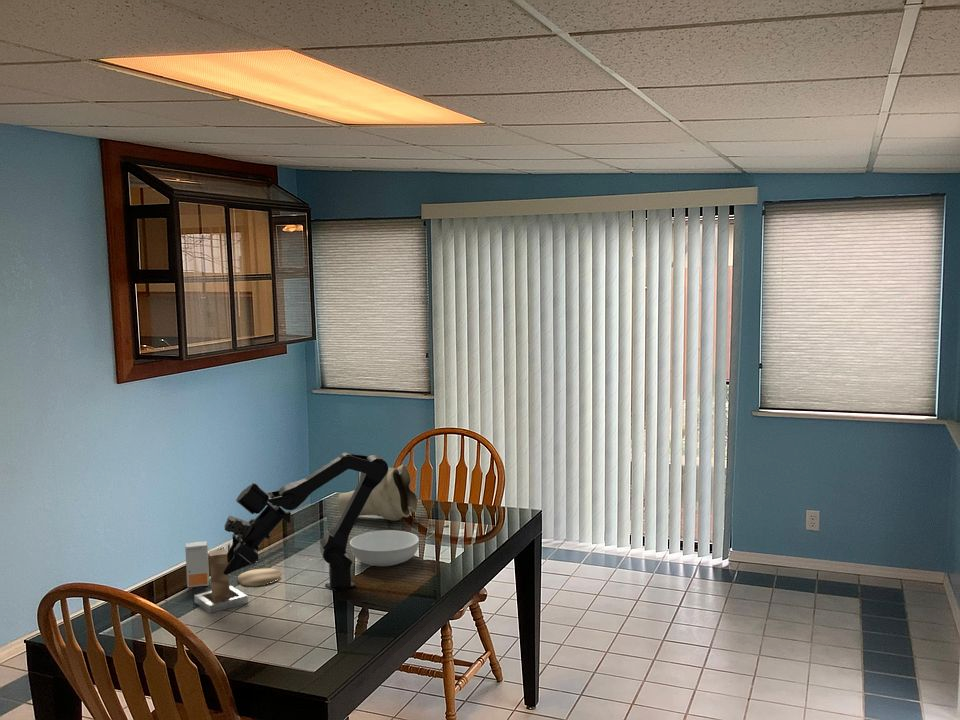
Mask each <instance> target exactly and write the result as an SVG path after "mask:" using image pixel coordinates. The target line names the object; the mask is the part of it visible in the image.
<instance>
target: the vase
mask: <svg viewBox="0 0 960 720" xmlns="http://www.w3.org/2000/svg"><path fill="white" fill-rule="evenodd" d="M411 483H412V477H411V475H410V471H409V470H408V468H407V467H406V464H401V465H399V466H398V467H394V468H393V467H388V472H387V474H386V476H385V477H384V478H383V480H382V481H381V482H380V483H379V484H378V485H377V486H376V487H375V488H374V489H373V490H372V492H371V494H370V496H369V498H368V499H367V501H366V503H365V505H364V507H363V509H362V511H361V513H360V515H359V516H360V517H361V516H377V517H381V518H384V519H385V520H387V521H388V520H389V521H399V520H401V519H402V518H403V517H404V518H408V517H410V515H411V513H416V512H417V510H418V496H417V493H416V492H415V491H414V490H413V489H412V488H411ZM354 491H355V489H354V490H352V491H348V492H347V491H346V492H342V493H340V494H338V496H337V497H338V499H337V504H338V505H337V506H338V510H339V512H340V514H341V515H342V514H343V512H344V510H345V508H346V506H347V504H348V503H349V501H350V499H351V497H352V495H353V493H354Z"/></svg>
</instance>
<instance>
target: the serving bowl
mask: <svg viewBox="0 0 960 720" xmlns="http://www.w3.org/2000/svg"><path fill="white" fill-rule="evenodd" d="M419 544H420V538H419V536H417V534H415V533H412V532H407V531H404V530H403V531H402V530H394V529H393V530H392V529H391V530H390V529H387V530H385V529H384V530H383V529H382V530H374V531H368V532H364V533H361V534H358V535H356V536H354V537H352V538H350V541H349V547H350V551H351V553H352V555H353V557H354V558H355V559H356V560H357V561H359V562H361V563H362V564H366V565H368V566H369V565H370V566H374V567H375V566H376V567H390V566H394V565H399V564H402V563H405V562H407V561H409V560H410V559H411V558H413V557H414V556H415V554H416V553H417V551H418V548H419Z"/></svg>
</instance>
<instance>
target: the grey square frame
mask: <svg viewBox="0 0 960 720" xmlns="http://www.w3.org/2000/svg"><path fill="white" fill-rule="evenodd" d="M229 593H230V598H229V599H226V600H222V601H218V602H214V603H213V602H212V590H208V591H205V592H201V593H197V594H194V596H193V598H194V603H195V604H196V605H198V606H200V607H201V608H203V610H205V611H207V612H208V613H209V614H214V613H216V612H220V611H224V610H226V609H231V608H234V607H238V606H241V605H245V604H248V603H249V600H248V598H249V597H248V595H247V594H245V593H244V592H242V591H240V590H239V589H237V588H236V587H234V586H233V585H229ZM247 602H248V603H247Z"/></svg>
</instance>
